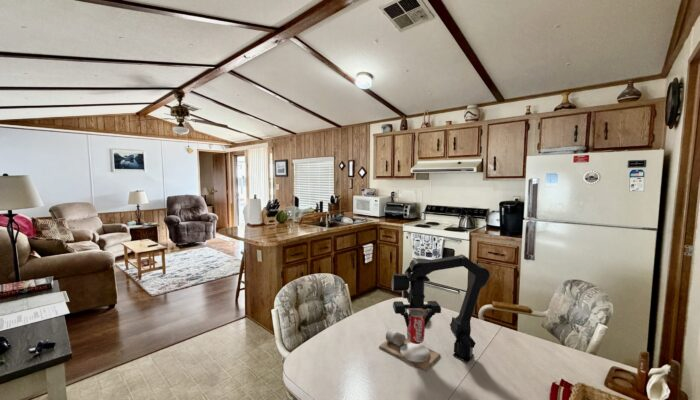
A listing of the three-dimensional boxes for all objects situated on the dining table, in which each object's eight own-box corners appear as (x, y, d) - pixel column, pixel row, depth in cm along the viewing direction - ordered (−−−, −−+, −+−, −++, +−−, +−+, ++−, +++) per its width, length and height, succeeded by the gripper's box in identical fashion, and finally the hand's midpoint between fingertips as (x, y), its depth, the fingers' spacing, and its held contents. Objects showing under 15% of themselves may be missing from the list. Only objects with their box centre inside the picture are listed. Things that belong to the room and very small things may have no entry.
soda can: (427, 340, 123) (428, 313, 122) (417, 347, 118) (418, 319, 117) (413, 334, 128) (414, 307, 127) (403, 340, 123) (404, 312, 122)
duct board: (440, 356, 124) (440, 342, 123) (425, 371, 114) (425, 356, 113) (395, 335, 138) (396, 323, 138) (379, 347, 129) (379, 334, 128)
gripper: (433, 282, 130) (431, 317, 131) (390, 283, 129) (390, 317, 130) (442, 293, 118) (440, 330, 120) (395, 293, 118) (395, 331, 119)
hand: (415, 326), depth 123 cm, fingers closed on soda can, 7 cm apart
